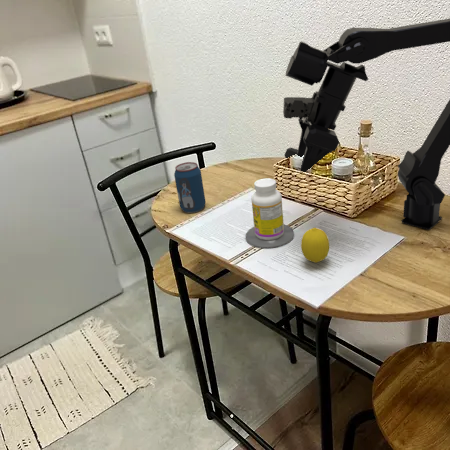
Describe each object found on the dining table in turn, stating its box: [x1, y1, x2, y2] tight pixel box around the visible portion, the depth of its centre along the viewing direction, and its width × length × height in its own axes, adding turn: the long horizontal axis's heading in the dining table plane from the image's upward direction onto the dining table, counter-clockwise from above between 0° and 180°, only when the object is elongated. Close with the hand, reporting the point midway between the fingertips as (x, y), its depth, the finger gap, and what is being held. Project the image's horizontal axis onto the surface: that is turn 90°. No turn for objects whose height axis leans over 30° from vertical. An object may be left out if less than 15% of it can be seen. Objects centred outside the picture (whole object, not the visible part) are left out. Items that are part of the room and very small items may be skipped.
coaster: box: [245, 224, 295, 249], centre depth 107 cm, size 11×11×1 cm
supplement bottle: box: [251, 177, 285, 240], centre depth 104 cm, size 7×7×13 cm
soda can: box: [173, 161, 206, 214], centre depth 123 cm, size 7×7×12 cm
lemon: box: [300, 227, 330, 264], centre depth 94 cm, size 6×6×8 cm
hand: (300, 163), depth 101 cm, fingers open, 9 cm apart
